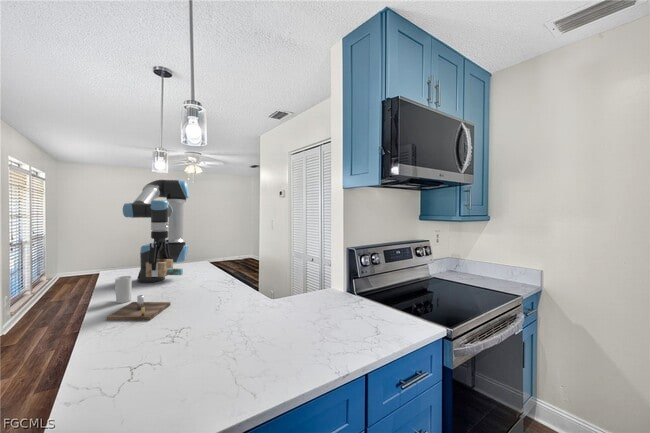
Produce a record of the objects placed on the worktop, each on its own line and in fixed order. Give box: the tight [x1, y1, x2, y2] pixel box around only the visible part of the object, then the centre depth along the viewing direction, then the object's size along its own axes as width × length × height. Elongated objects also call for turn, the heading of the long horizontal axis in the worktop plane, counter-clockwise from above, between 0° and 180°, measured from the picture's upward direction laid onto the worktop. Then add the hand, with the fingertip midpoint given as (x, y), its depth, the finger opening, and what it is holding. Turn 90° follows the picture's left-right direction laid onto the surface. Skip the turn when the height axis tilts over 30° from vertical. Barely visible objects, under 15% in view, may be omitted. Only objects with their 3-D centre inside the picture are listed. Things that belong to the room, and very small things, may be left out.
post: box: [136, 294, 145, 310], centre depth 130 cm, size 2×2×6 cm
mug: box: [114, 275, 133, 304], centre depth 144 cm, size 10×7×12 cm, turn 66°
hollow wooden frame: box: [146, 259, 184, 278], centre depth 147 cm, size 16×9×7 cm, turn 93°
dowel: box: [141, 307, 145, 316], centre depth 123 cm, size 1×1×4 cm
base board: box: [105, 301, 172, 321], centre depth 131 cm, size 18×18×2 cm
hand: (159, 274), depth 147 cm, fingers closed on hollow wooden frame, 9 cm apart
